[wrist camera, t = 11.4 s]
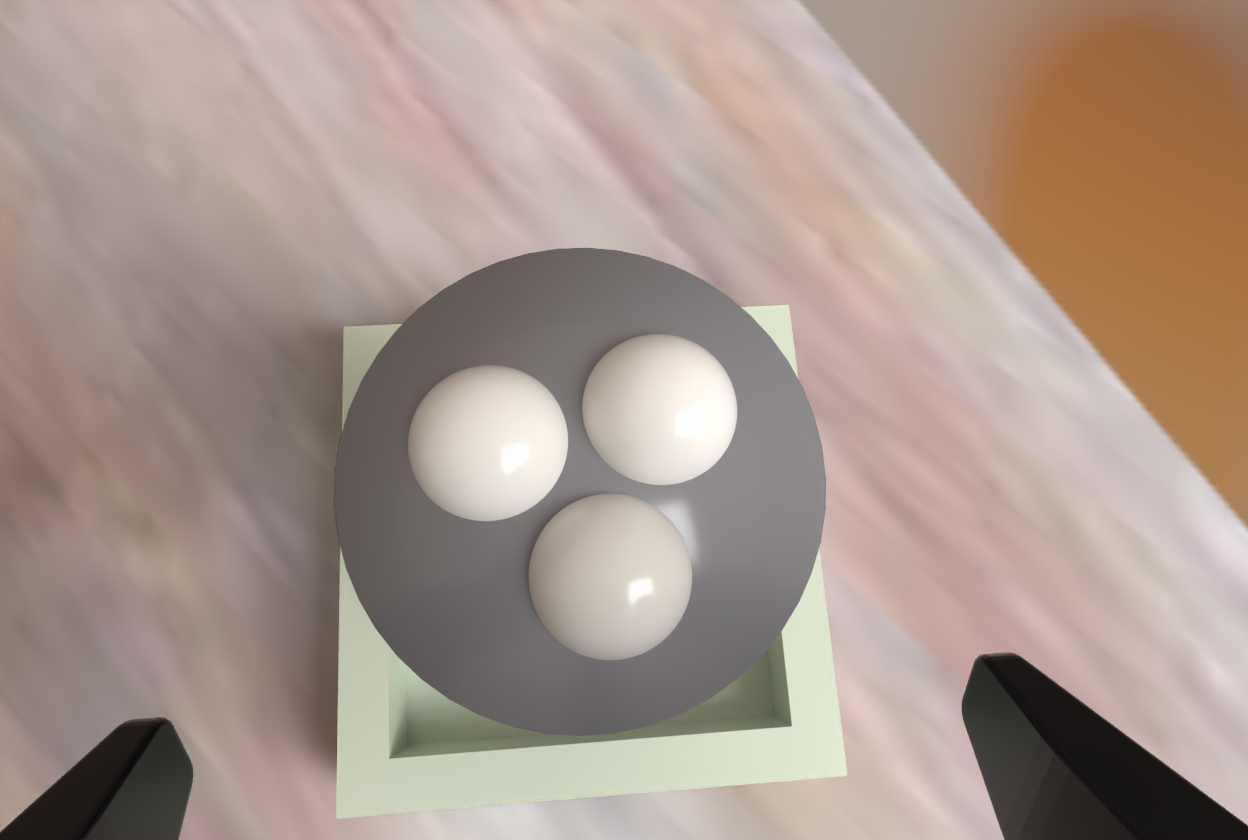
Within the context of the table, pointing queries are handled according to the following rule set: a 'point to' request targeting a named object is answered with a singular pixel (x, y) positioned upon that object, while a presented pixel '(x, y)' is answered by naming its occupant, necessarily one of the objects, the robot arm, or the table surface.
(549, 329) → the grey can
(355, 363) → the sage dish
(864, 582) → the table surface
